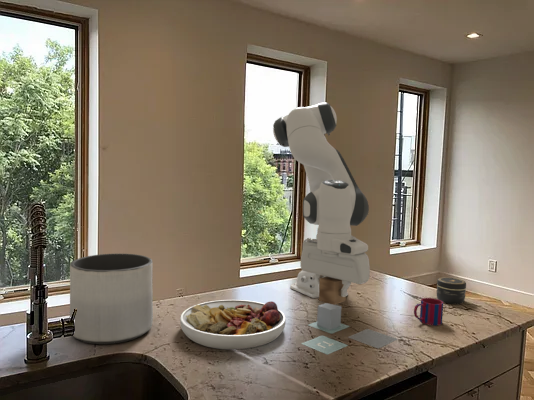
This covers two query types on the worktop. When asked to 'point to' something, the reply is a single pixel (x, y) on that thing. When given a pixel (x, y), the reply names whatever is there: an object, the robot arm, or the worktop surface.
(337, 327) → the code tile
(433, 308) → the mug
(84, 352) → the worktop surface
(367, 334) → the slate coaster
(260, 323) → the bowl
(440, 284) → the jar
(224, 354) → the worktop surface
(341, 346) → the code tile
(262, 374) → the worktop surface
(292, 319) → the worktop surface
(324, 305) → the blue-grey block
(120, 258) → the planter
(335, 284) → the walnut block
